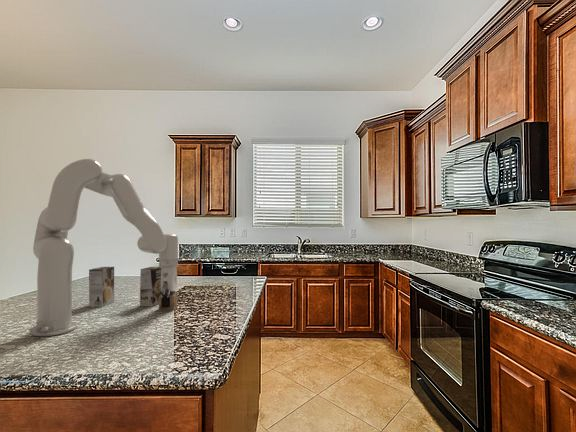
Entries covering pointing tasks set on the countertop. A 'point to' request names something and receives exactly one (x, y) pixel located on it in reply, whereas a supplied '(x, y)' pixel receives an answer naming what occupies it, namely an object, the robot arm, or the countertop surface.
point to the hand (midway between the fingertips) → (168, 304)
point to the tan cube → (172, 302)
